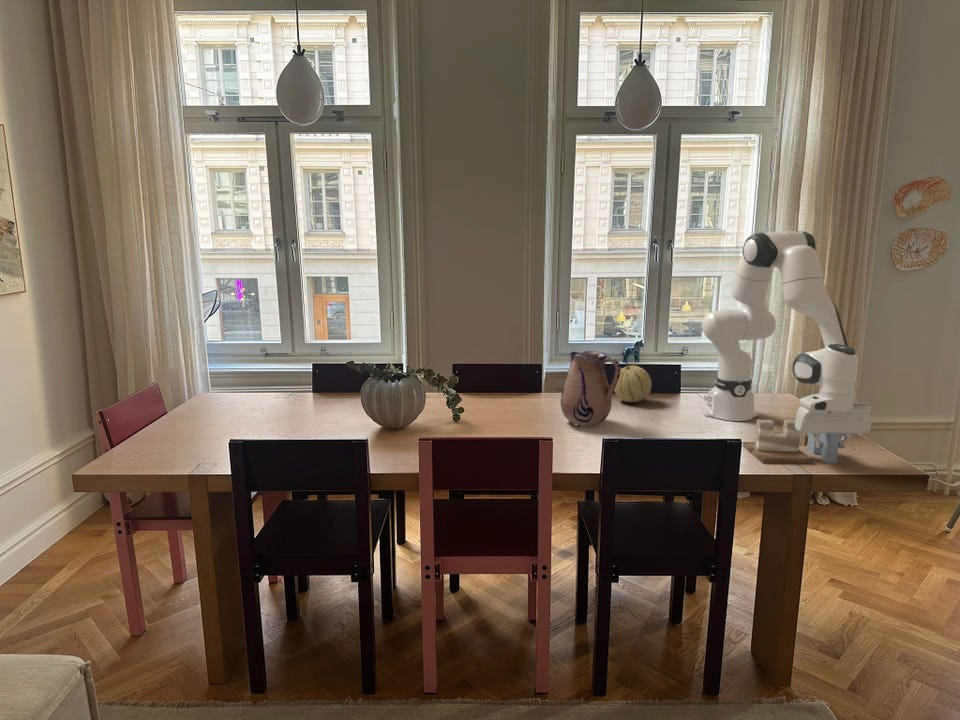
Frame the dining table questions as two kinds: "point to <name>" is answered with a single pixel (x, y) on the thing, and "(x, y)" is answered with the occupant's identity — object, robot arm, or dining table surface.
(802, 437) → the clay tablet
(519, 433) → the dining table surface
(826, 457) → the slotted plate
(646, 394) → the cantaloupe
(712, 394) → the robot arm
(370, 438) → the dining table surface
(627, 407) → the dining table surface
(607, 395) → the ceramic pitcher
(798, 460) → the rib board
